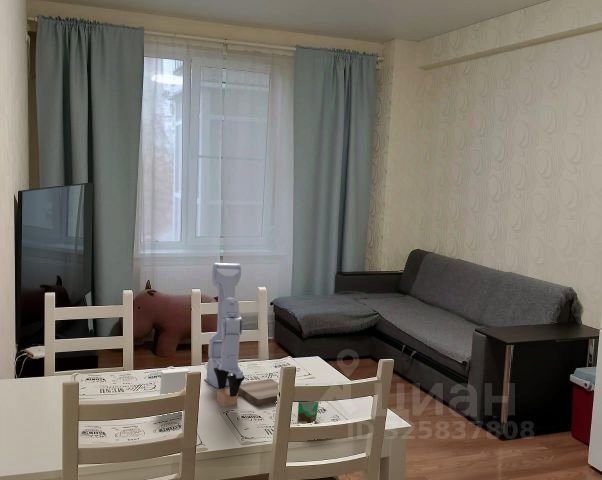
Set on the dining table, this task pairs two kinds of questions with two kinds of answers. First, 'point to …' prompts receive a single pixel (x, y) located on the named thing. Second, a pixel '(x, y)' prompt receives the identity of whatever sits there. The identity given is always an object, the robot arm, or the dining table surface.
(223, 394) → the terracotta block
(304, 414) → the food container
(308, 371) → the dining table surface
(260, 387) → the walnut base
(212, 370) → the robot arm
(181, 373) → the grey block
